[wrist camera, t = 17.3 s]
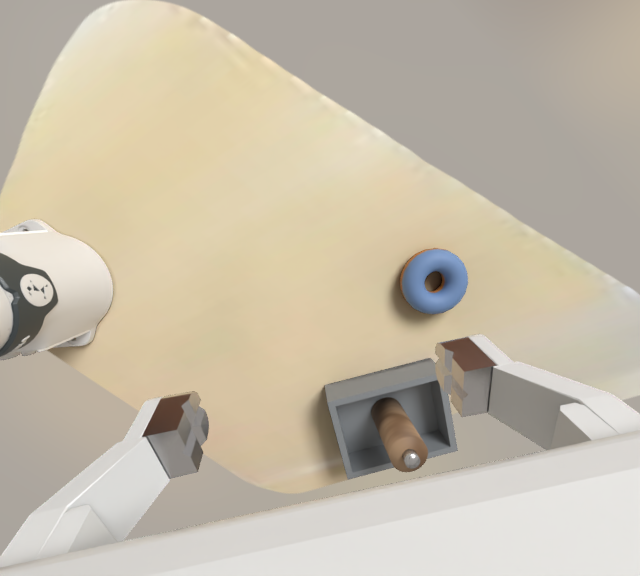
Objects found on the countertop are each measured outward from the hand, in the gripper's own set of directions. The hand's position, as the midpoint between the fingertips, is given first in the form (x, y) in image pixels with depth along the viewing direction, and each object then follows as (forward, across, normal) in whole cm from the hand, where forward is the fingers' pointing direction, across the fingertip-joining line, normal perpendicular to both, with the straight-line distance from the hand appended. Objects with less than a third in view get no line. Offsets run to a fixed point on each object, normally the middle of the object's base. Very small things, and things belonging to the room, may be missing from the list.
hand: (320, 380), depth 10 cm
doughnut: (+34, -19, +14) cm, 42 cm away
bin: (+29, -9, +34) cm, 46 cm away
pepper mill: (+28, -9, +34) cm, 45 cm away
